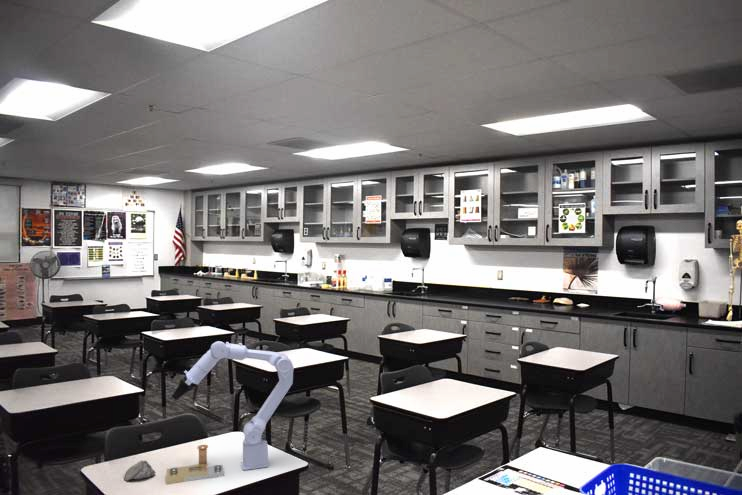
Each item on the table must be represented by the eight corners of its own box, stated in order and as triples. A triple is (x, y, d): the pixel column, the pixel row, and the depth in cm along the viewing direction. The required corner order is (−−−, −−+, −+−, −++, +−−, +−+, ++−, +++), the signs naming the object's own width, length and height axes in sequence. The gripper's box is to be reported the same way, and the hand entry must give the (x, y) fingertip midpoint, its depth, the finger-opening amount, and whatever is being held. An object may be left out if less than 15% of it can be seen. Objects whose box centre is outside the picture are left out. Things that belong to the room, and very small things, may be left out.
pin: (207, 462, 208) (207, 444, 208) (208, 465, 205) (208, 447, 205) (197, 463, 207) (197, 445, 207) (197, 467, 203) (197, 448, 204)
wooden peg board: (222, 467, 203) (222, 458, 203) (224, 475, 195) (224, 466, 195) (166, 475, 196) (166, 466, 196) (166, 484, 188) (166, 474, 188)
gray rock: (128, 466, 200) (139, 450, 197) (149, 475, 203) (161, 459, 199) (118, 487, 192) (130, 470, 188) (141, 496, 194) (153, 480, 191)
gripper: (196, 359, 207) (171, 387, 204) (191, 363, 192) (163, 392, 189) (210, 371, 207) (185, 399, 204) (205, 375, 193) (178, 405, 190)
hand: (175, 396), depth 197 cm, fingers open, 7 cm apart
